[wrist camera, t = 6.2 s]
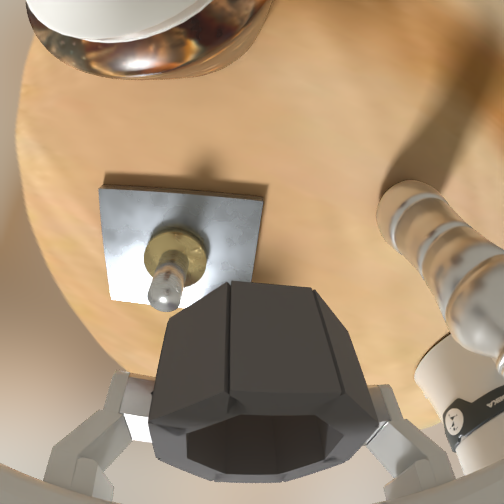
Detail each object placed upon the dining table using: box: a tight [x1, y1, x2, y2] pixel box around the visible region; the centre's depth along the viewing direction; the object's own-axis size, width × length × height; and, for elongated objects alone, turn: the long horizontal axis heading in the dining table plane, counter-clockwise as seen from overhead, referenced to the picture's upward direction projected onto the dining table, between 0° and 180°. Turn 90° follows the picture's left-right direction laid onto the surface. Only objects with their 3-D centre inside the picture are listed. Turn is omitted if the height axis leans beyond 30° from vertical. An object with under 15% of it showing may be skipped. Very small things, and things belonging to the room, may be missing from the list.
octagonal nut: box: [147, 280, 379, 483], centre depth 10 cm, size 6×6×4 cm
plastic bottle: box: [376, 180, 504, 378], centre depth 19 cm, size 6×7×20 cm
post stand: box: [99, 185, 263, 312], centre depth 27 cm, size 14×12×7 cm
